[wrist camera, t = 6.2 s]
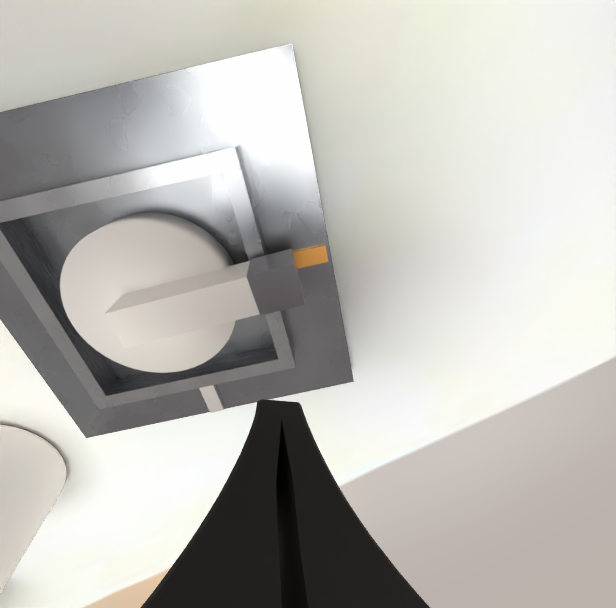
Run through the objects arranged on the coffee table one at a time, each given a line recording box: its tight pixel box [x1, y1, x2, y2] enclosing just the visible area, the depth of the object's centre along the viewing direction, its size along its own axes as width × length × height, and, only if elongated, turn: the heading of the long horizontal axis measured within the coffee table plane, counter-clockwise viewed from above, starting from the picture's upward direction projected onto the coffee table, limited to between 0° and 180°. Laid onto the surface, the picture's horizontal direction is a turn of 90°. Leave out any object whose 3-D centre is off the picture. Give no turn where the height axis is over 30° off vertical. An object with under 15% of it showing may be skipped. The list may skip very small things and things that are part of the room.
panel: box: [0, 43, 354, 438], centre depth 18 cm, size 18×18×3 cm
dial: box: [60, 212, 305, 373], centre depth 16 cm, size 11×8×4 cm
